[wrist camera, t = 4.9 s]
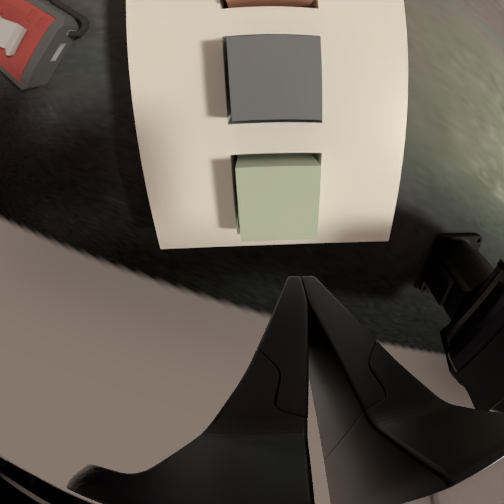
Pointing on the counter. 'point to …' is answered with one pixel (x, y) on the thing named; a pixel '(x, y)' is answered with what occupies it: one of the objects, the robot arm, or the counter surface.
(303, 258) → the counter surface
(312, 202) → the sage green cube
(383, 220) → the three-button panel
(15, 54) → the walkie-talkie
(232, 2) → the terracotta key
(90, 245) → the counter surface
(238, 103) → the charcoal key
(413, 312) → the counter surface
